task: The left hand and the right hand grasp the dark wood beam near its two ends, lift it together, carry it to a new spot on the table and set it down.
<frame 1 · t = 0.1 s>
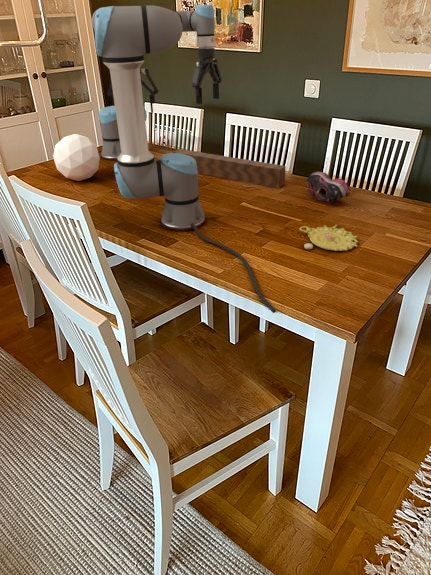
left hand: (207, 101, 199), 28 cm above the table, tool pointing down, fingers open, 13 cm apart
right hand: (135, 113, 181), 28 cm above the table, tool pointing down, fingers open, 13 cm apart
decorative object: (328, 239, 142), on the table
athletic shoe: (321, 198, 172), on the table
beam: (226, 176, 197), on the table
sphere: (81, 178, 199), on the table
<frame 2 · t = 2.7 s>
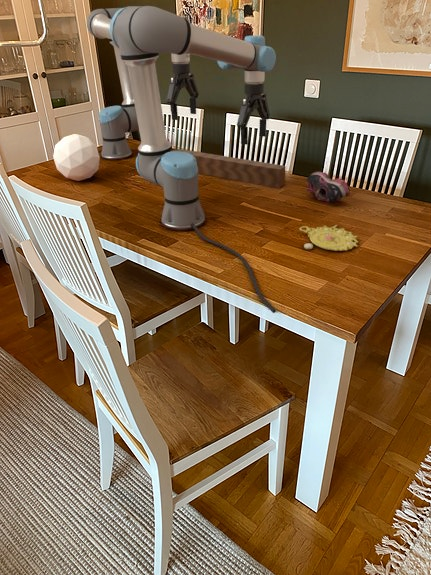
left hand: (184, 116, 194), 23 cm above the table, tool pointing down, fingers open, 13 cm apart
right hand: (253, 140, 178), 18 cm above the table, tool pointing down, fingers open, 13 cm apart
nothing on the table moved.
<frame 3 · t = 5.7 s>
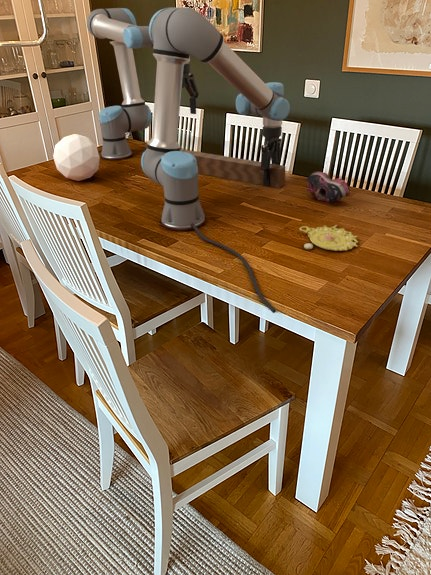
left hand: (184, 116, 194), 23 cm above the table, tool pointing down, fingers open, 13 cm apart
right hand: (269, 182, 186), 1 cm above the table, tool pointing down, fingers closed on beam, 5 cm apart
beam: (226, 176, 197), on the table, touching right hand
everything else where it was.
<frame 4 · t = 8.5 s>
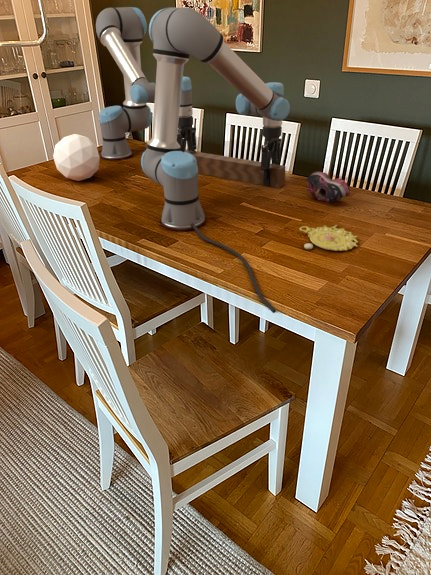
left hand: (187, 167, 207), 1 cm above the table, tool pointing down, fingers closed on beam, 5 cm apart
right hand: (269, 182, 186), 1 cm above the table, tool pointing down, fingers closed on beam, 5 cm apart
beam: (226, 176, 197), on the table, touching right hand, left hand
everything else where it was.
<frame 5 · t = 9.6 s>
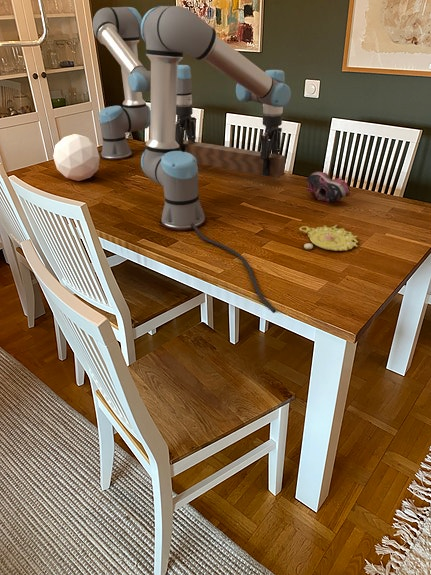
left hand: (186, 158, 204), 5 cm above the table, tool pointing down, fingers closed on beam, 5 cm apart
right hand: (269, 173, 184), 5 cm above the table, tool pointing down, fingers closed on beam, 5 cm apart
beam: (225, 166, 194), point 4 cm above the table, touching right hand, left hand
everything else where it was.
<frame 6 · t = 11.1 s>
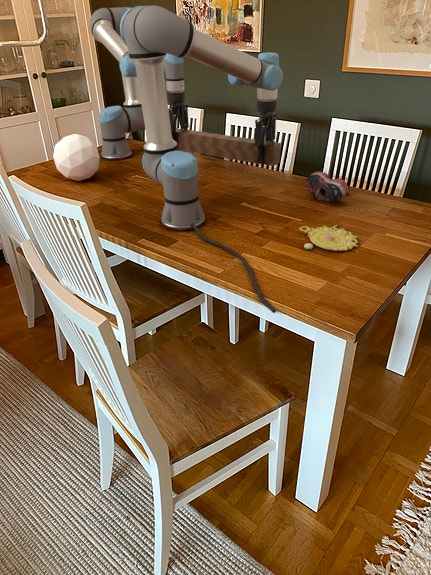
left hand: (179, 147, 198), 11 cm above the table, tool pointing down, fingers closed on beam, 5 cm apart
right hand: (264, 161, 178), 11 cm above the table, tool pointing down, fingers closed on beam, 5 cm apart
beam: (219, 155, 188), point 10 cm above the table, touching right hand, left hand
everything else where it was.
when the left hand's fingers open (2 cm above the table, at t = 13.9 s): beam drops 1 cm, on the table.
when the right hand's fingers open (2 cm above the table, at t = 13.9 s): beam drops 1 cm, on the table.
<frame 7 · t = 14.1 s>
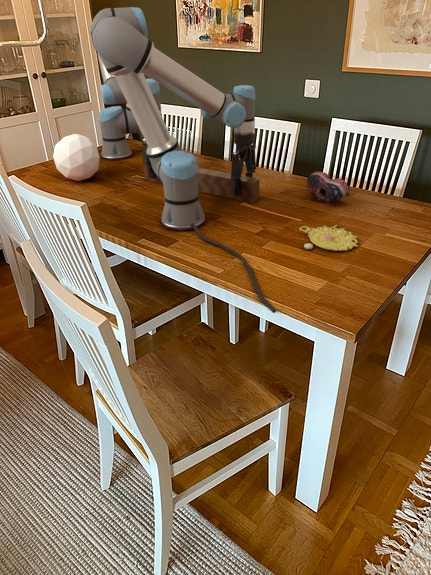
left hand: (158, 175, 193), 2 cm above the table, tool pointing down, fingers open, 8 cm apart
right hand: (243, 192, 173), 2 cm above the table, tool pointing down, fingers open, 8 cm apart
beam: (198, 188, 184), on the table
everything else where it was.
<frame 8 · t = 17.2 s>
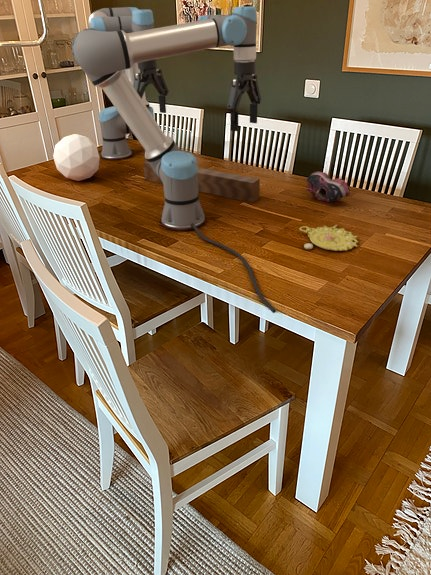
left hand: (152, 115, 180), 27 cm above the table, tool pointing down, fingers open, 13 cm apart
right hand: (244, 126, 160), 27 cm above the table, tool pointing down, fingers open, 13 cm apart
nothing on the table moved.
at the end: beam inside the target area (0.1 cm from its centre), on the table; beam tilted 0°; beam never tilted more than 1° during the clip; both hands held the beam at the same time; the left hand is holding nothing; the right hand is holding nothing; beam at rest at the end (0.0 cm/s) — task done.
